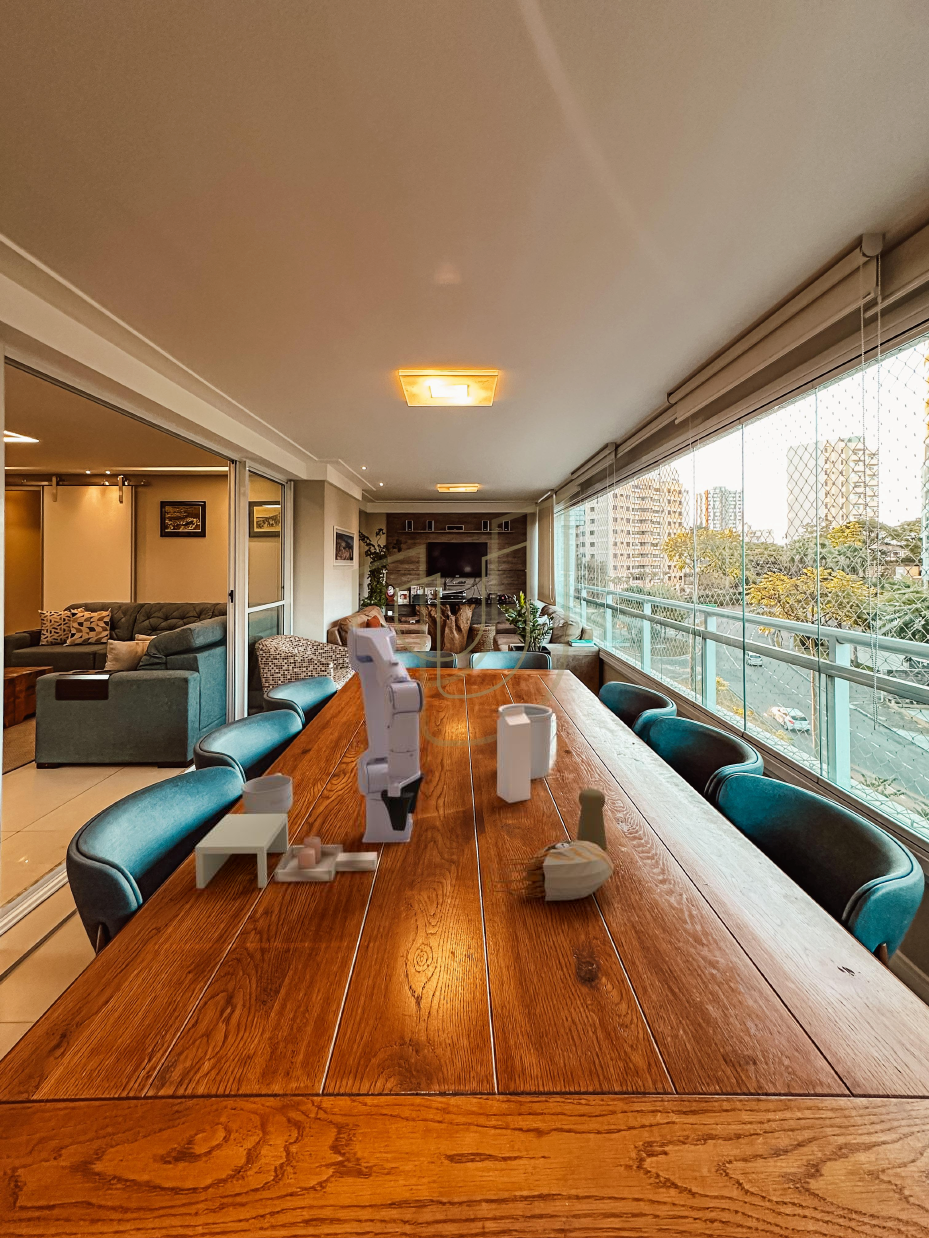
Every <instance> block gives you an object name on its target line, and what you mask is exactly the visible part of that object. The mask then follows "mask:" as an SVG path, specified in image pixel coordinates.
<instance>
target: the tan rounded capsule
mask: <svg viewBox="0 0 929 1238" xmlns="http://www.w3.org/2000/svg"><path fill="white" fill-rule="evenodd" d="M321 840H322V839H321V837H319V836H309V837H307V838H305V839H304V841H303V843H304V848H313V849H315V863H316V864H317V863H319V862H321V861H322V854H321V845H322V841H321Z"/></svg>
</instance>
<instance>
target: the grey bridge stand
mask: <svg viewBox="0 0 929 1238" xmlns="http://www.w3.org/2000/svg"><path fill="white" fill-rule="evenodd" d="M288 815H289V813H286V814H246V813H236V814H235V813H227V814H226V815H224V817H223V818H221V820H220V821H218V823H217V824H216V825H215V826H214V827H213V828H212V829H211V830H210V831H209V832H208V833H207V834H206V835H205V836H204V837H203V838H202V839H201V840H200V842H198V844H196V846H195V847H194V850H195V855H194V856H195V877H196V878H195V879H196V881H195V882H196V883H195V884H196V885H195V887H196V889H205V887H206V886H207V885H208V884H209V882H211V880H212V879H213V877H214V876H215V875H216V874H217V873H218V871H219V870H220V869H221V868H222V867H223V865H224V864H225V863H226V862H227V860H228V859H229V857H231V856H232V854H257V855H256V856H257V857H256V858H257V888H258V889H259V888H261V889H264V888H266V887H267V885H268V867H267V865H268V863H267V854H269V853H275V854H276V853H286V852H287V851H288V849H289V822H288V821H289V818H288Z"/></svg>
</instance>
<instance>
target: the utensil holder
mask: <svg viewBox="0 0 929 1238" xmlns="http://www.w3.org/2000/svg"><path fill="white" fill-rule="evenodd" d="M518 707H524V713H525V715H526V716H527V718H528V719H529V721H530V722H531V773H530V780H535V779H541V778H545V777H546V776H547V775H549V772H550V761H551V760H550V759H551V758H550V757H551V738H552V737H551V736H552V733H551V732H552V716H553V709H552V708H551V707H549V706H546V705H545V706H544V705H541V704H535V703H533V704H532V703H510V704H506V705H505V704H504V705H501V706H499V707H498V711H497V713H498V716H499V717H498V719H499V718H500V717H502V716H503V710H504V709H510V708H518Z"/></svg>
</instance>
